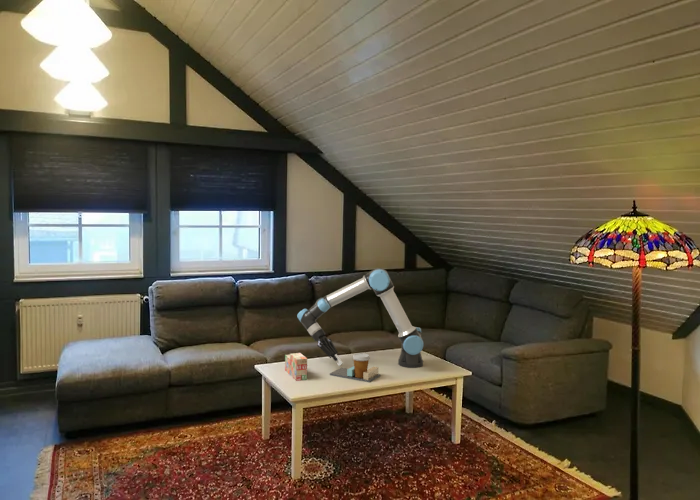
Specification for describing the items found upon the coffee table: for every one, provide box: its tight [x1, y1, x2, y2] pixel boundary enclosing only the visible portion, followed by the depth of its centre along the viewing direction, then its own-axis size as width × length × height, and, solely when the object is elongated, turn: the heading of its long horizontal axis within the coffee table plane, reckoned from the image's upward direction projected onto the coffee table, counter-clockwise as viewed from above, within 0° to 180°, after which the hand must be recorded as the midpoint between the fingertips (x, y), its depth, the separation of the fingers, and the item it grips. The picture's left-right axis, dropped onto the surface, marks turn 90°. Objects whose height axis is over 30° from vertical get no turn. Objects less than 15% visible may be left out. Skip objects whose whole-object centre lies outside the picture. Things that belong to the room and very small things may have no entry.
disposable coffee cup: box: [352, 352, 370, 378], centre depth 312 cm, size 10×10×12 cm
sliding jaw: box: [347, 365, 355, 377], centre depth 317 cm, size 3×13×4 cm, turn 152°
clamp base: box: [329, 366, 381, 383], centre depth 317 cm, size 25×14×5 cm, turn 62°
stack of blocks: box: [284, 352, 308, 382], centre depth 315 cm, size 21×6×12 cm, turn 23°
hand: (341, 364), depth 321 cm, fingers closed
